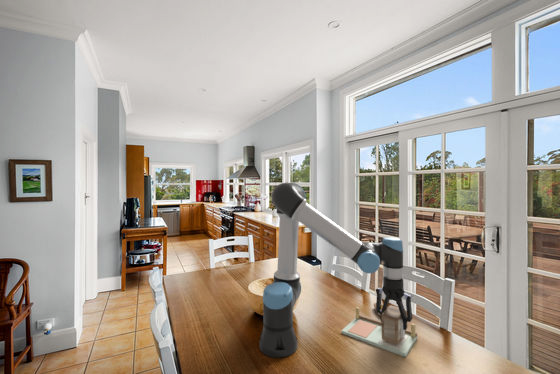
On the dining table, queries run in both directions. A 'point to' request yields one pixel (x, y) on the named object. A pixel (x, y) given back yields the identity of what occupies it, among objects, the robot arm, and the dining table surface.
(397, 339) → the frame block
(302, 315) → the dining table surface
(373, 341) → the ledge board
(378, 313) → the stone
